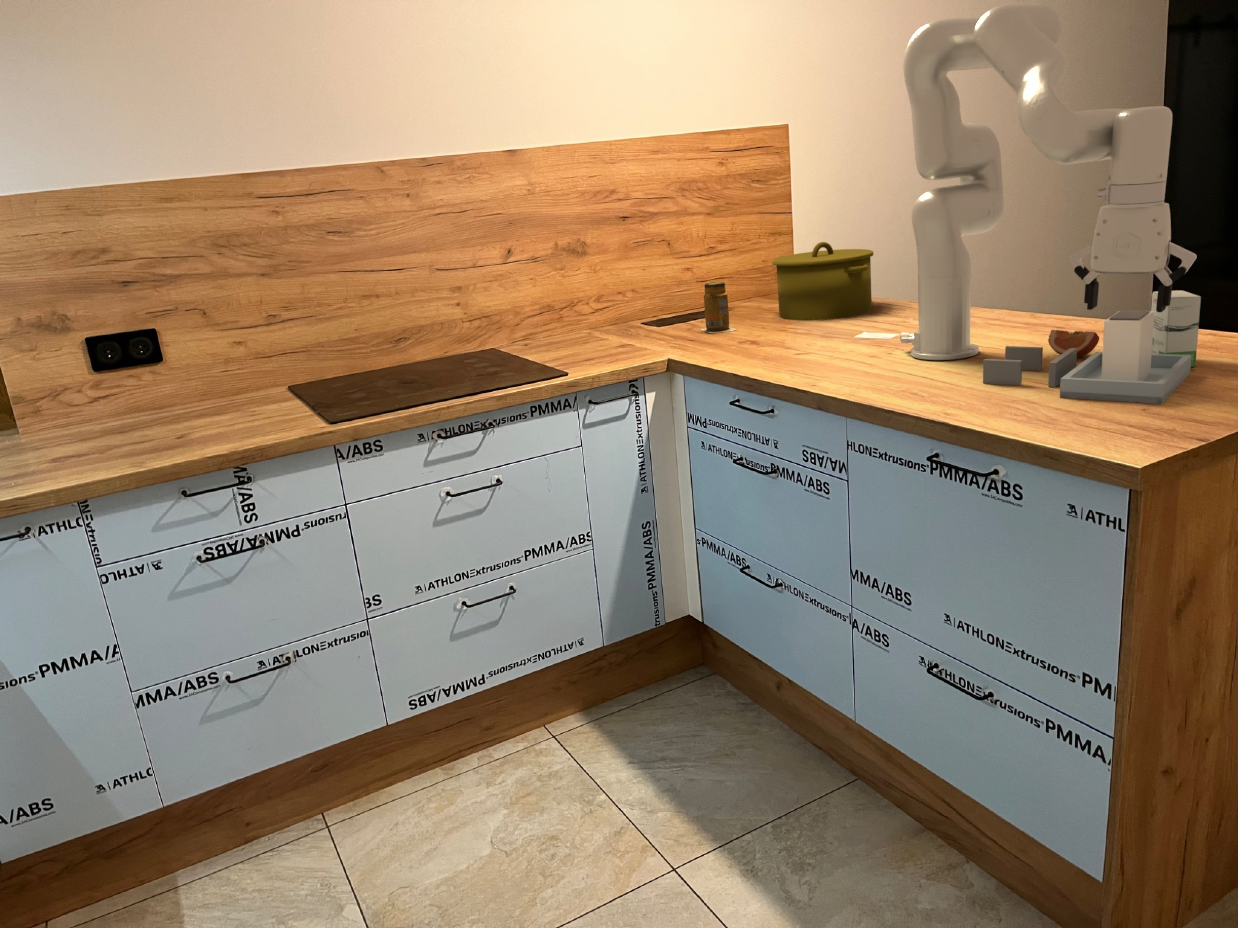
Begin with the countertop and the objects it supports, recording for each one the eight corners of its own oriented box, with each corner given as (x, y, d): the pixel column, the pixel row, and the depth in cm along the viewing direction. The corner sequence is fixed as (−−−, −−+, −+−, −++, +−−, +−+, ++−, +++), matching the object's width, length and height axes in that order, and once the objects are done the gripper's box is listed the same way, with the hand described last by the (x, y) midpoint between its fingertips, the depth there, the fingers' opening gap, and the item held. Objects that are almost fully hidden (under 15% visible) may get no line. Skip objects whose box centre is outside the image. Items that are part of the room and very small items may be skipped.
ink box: (1197, 367, 151) (1203, 295, 148) (1164, 369, 152) (1169, 298, 149) (1177, 357, 159) (1182, 288, 156) (1146, 359, 160) (1150, 290, 157)
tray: (1059, 397, 143) (1060, 378, 142) (1095, 369, 157) (1096, 352, 156) (1162, 404, 134) (1163, 384, 133) (1189, 373, 148) (1191, 355, 147)
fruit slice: (1040, 358, 169) (1041, 331, 168) (1062, 351, 173) (1063, 325, 171) (1084, 363, 162) (1085, 335, 161) (1105, 356, 166) (1107, 328, 164)
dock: (983, 383, 156) (983, 360, 155) (1006, 368, 165) (1007, 346, 164) (1054, 387, 149) (1055, 363, 148) (1075, 371, 157) (1076, 348, 156)
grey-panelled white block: (1101, 384, 144) (1104, 319, 141) (1115, 372, 150) (1119, 309, 147) (1136, 386, 141) (1140, 319, 138) (1150, 373, 147) (1154, 309, 144)
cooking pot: (751, 316, 252) (747, 248, 246) (823, 301, 263) (821, 236, 258) (825, 325, 226) (822, 249, 221) (902, 308, 238) (901, 235, 232)
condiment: (726, 326, 241) (723, 280, 237) (737, 330, 233) (734, 282, 229) (699, 330, 239) (696, 283, 236) (710, 334, 231) (706, 286, 228)
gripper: (1066, 200, 140) (1059, 311, 146) (1198, 195, 129) (1184, 316, 135) (1080, 195, 145) (1073, 303, 151) (1208, 190, 135) (1194, 307, 140)
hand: (1125, 309), depth 143 cm, fingers open, 9 cm apart
